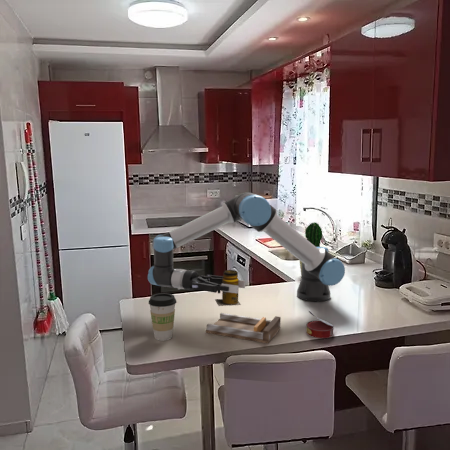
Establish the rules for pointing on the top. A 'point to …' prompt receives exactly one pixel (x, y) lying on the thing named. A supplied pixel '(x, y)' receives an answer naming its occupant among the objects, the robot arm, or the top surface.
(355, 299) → the top surface
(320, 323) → the canned food
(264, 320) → the latch
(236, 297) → the condiment
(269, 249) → the top surface
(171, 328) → the coffee cup
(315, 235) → the potted cactus
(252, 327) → the rail board
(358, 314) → the top surface
